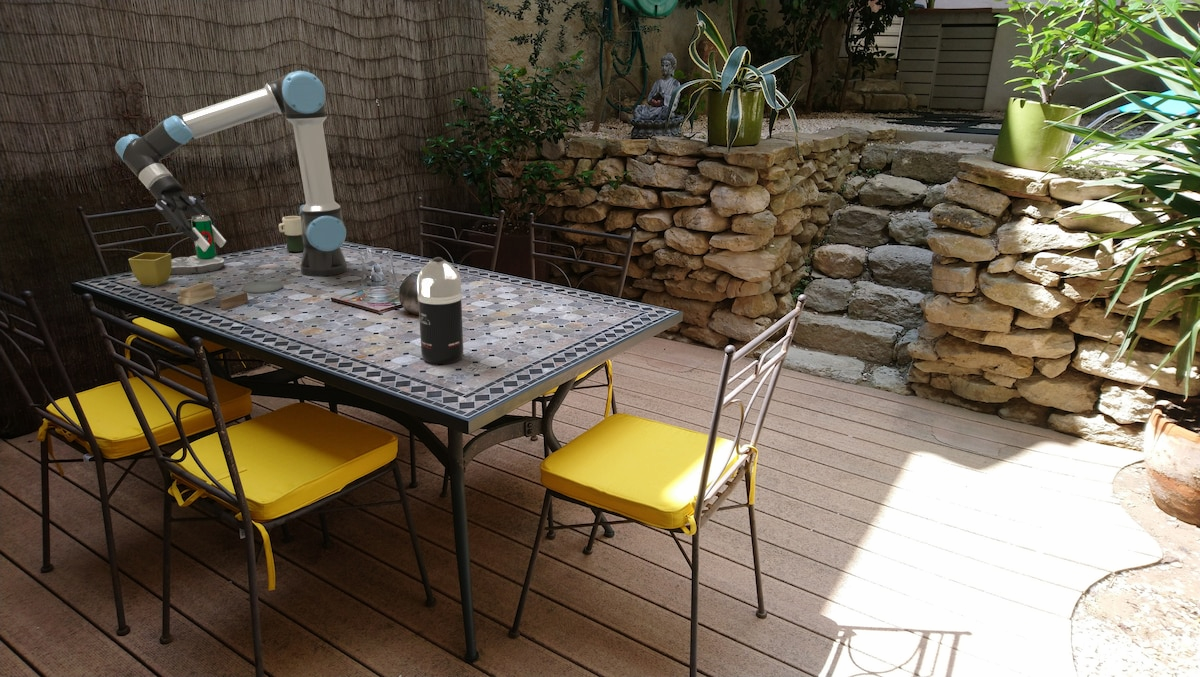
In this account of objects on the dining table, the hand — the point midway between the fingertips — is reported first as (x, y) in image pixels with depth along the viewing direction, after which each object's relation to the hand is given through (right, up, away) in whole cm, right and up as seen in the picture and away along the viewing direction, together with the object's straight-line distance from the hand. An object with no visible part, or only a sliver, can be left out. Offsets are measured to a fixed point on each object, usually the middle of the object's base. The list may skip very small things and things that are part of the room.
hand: (215, 246), depth 208 cm
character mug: (-6, +7, +71) cm, 71 cm away
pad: (+3, -10, +22) cm, 25 cm away
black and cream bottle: (+71, -31, -31) cm, 84 cm away
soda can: (-4, -3, +3) cm, 6 cm away
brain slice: (-30, -3, +43) cm, 52 cm away
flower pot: (-32, -9, +24) cm, 41 cm away
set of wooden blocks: (-4, -16, +7) cm, 18 cm away
